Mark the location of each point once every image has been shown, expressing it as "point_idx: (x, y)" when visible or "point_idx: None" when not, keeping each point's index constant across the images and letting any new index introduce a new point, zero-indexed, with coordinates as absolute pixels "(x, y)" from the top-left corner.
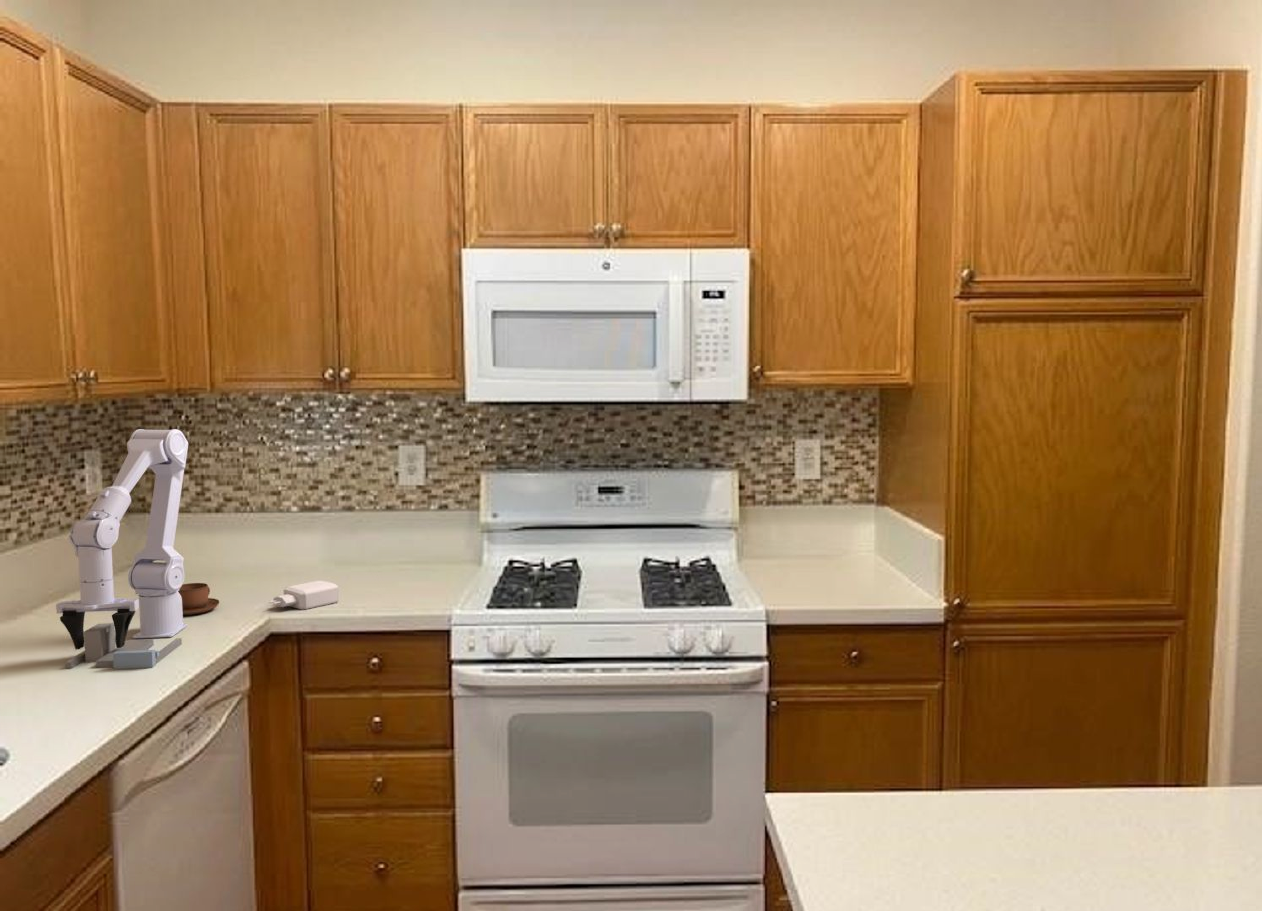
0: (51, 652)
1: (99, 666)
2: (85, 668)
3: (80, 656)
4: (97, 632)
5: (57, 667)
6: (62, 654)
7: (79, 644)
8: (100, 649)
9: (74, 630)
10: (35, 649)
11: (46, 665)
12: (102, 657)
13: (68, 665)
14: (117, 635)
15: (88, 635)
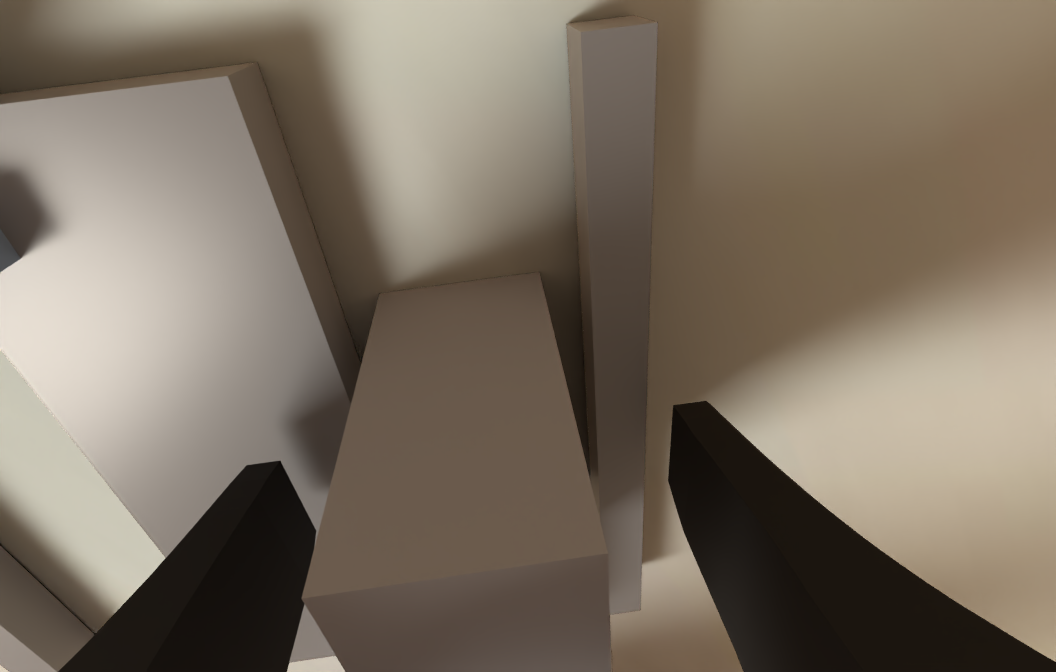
0: (928, 470)
1: (216, 70)
2: (379, 22)
3: (590, 284)
4: (361, 571)
5: (756, 76)
6: (836, 439)
7: (687, 453)
8: (370, 369)
9: (812, 590)
10: (1043, 510)
11: (897, 155)
12: (279, 243)
13: (607, 22)
14: (170, 588)
15: (519, 502)
